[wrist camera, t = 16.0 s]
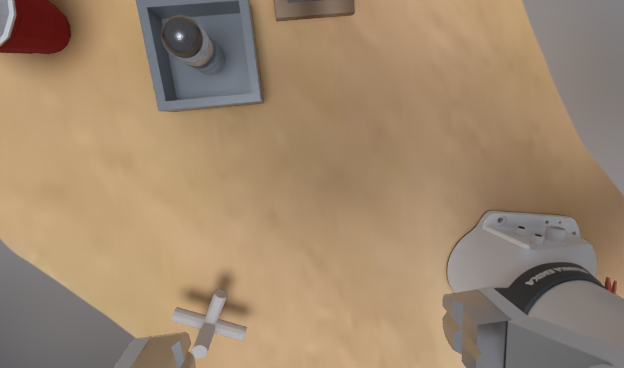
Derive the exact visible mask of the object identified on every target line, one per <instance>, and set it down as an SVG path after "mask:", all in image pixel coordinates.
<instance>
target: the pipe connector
mask: <svg viewBox="0 0 624 368" xmlns="http://www.w3.org/2000/svg"><path fill="white" fill-rule="evenodd" d="M226 298H227V293H226V292H225V291H223V290H216V291H215V292H214V294H213V297H212V300H211V302H210V305H209V308H208V310H207V313H206V315H203V314H199V313H196V312H193V311H189V310H186V309H182V308H179V307H177V308H176V309H175V311H174V313H173V316H172V318H171V321H173V322H176V323H180V324H184V325H187V326H191V327H194V328H198V329H200V332H199V334H198V337H197V339H196V342H195V344H194V347H193V349H192V355H193V356H194V358H195V359H201V358H203V357H204V356H206V354H207V352H208V349H209V346H210V343H211V340H212V337H213V334H214V333H216V334H220V335H223V336H227V337H230V338H234V339H238V340H241V341H243V338H244V336H245V333H246V329H247V327H245V326H241V325H238V324H234V323H231V322H227V321H224V320H220V319H219V316H220V314H221V311H222V309H223V306H224V304H225V301H226Z"/></svg>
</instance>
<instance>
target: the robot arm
mask: <svg viewBox="0 0 624 368" xmlns="http://www.w3.org/2000/svg"><path fill="white" fill-rule="evenodd" d="M499 218H500V219H499ZM498 219H499V221H498ZM447 276H448V281H449V284H450V287H451V289H452V290H453V292H454V293H451V294H444V296H443V307H444V308H445V310H446V311H447V312H446V314H445V315H444V317H443V330H444V333H445V337H446V339H447V341H448V343H449V344H450V346H451V347H452V349H453V350H454V351H456V352H458V353H460V354H462V362H463V364H464V365H465V366H466V368H624V299H623V298H621V297H619V296H617V295H615V294H616V285H617V282H616V281H614V283H613V286H612V290H611V282H610V278H608V277H607V278H606V281H605V287H604V286H603V285H602V284H601V283H600V282H599V281H598V280H597V279H596V277H597V258H596V253H595V250H594V249H593V247H592V246H591V244H590V243H589V242H587V241H586V240H584V239H582V238H581V235H580V230H579V227H578V225H577V223H576V221H575V220H574V219H573V218H571V217H569V216H562V215H547V214H533V213H519V212H504V211H488V212H487V213H485V214H484V216H483V217H482V218H481V220H480V221H479V223H478V225H477V226H476V227H475V228H474V229H473V230H472V231H471V232H469V233H468V234H467V235H465V236H464V237H463V238H462V239H461V240H460V241H459V243H458V244H457V245H456V247H455V248H454V250H453V251H452V253H451V256H450V258H449V262H448V267H447ZM190 345H191V341H190V337H189V334H188V333H186V332H182V333H173V334H165V335H157V336H153V337H152V336H150V337H143V338H136V339H135V340H133V341H132V342H131V343H130V344H129V346H128V347H127V349H126V350H125V352H124V353H123V355H122V356H121V358H120V359H119V360H118V362H117V363H116V365H115V366H114V367H113V368H196V366H195V359H194V356H193V355H192V354H191V353H190V352H189V351H188V350H189V347H190Z"/></svg>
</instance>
